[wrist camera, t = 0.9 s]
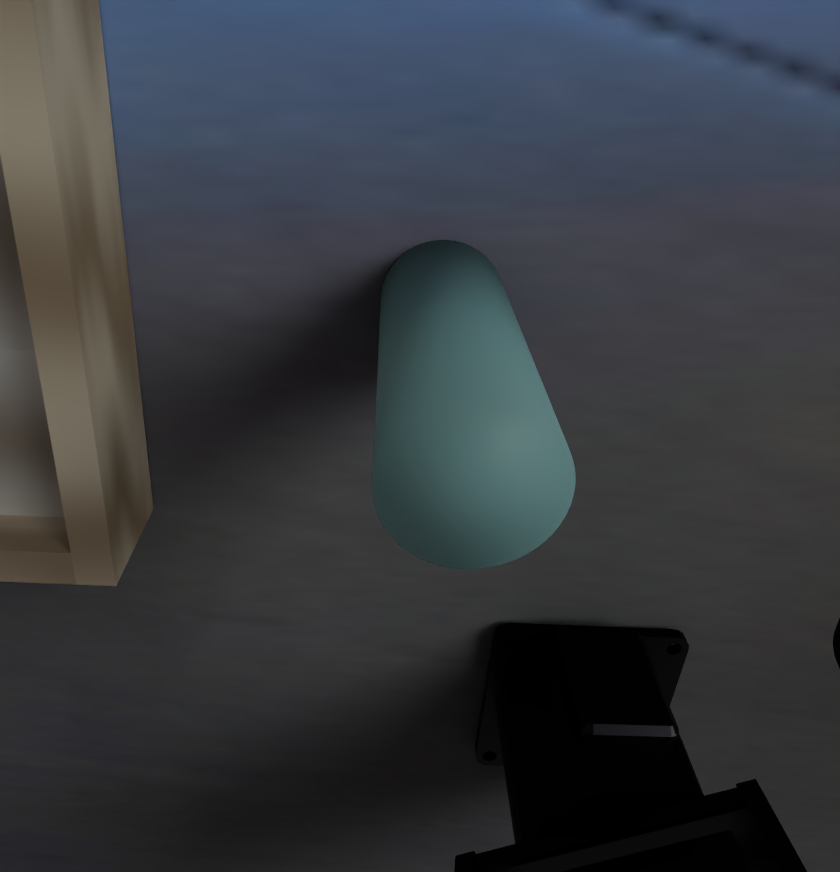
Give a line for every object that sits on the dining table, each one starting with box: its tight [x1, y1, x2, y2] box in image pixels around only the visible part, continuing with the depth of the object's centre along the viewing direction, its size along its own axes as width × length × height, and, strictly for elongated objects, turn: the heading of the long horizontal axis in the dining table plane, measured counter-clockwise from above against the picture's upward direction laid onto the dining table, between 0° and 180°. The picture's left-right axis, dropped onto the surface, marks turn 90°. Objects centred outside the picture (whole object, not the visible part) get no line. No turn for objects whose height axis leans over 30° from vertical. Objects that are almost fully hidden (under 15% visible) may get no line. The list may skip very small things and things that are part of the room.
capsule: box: [373, 240, 575, 569], centre depth 16 cm, size 3×3×9 cm
